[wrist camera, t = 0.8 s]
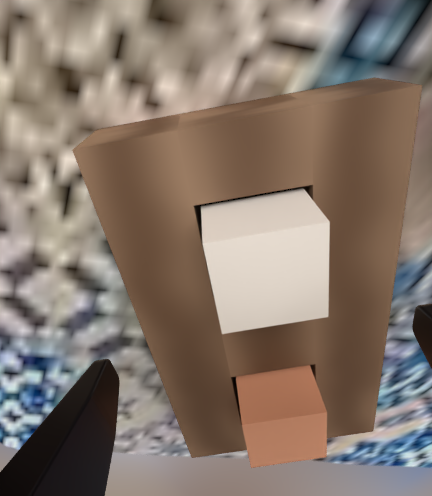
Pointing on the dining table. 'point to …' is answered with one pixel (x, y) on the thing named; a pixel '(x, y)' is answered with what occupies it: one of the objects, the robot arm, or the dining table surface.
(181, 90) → the dining table surface
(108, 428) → the robot arm
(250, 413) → the terracotta plunger
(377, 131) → the button panel
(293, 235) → the white square block
